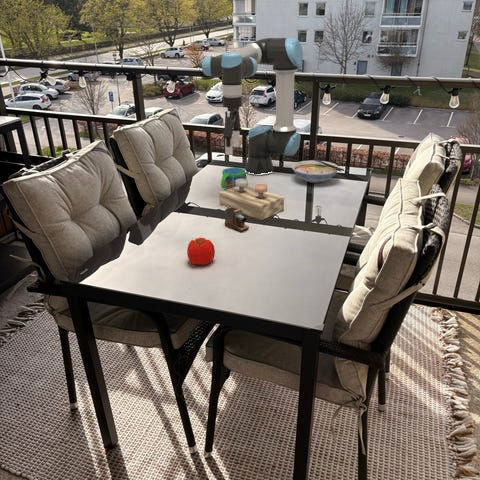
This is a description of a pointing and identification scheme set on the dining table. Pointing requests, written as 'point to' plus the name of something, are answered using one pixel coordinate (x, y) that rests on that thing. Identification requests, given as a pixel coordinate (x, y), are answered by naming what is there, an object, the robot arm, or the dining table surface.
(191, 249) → the tomato
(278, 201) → the switch box
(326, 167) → the ramen bowl
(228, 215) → the electronic device
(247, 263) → the dining table surface
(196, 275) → the dining table surface
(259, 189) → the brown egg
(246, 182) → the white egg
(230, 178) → the snack cup
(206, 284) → the dining table surface
